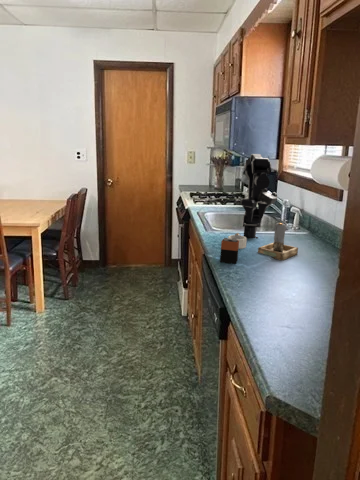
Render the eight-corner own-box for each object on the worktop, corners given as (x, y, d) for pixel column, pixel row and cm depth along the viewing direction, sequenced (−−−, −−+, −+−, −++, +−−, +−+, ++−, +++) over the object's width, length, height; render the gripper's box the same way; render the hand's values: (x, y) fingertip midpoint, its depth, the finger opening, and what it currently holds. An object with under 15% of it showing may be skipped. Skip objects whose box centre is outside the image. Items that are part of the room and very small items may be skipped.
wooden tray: (273, 248, 190) (274, 242, 189) (297, 254, 182) (298, 247, 182) (257, 254, 180) (258, 247, 179) (281, 260, 172) (282, 253, 171)
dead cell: (236, 244, 190) (237, 232, 189) (241, 246, 188) (242, 233, 187) (232, 245, 188) (233, 233, 187) (237, 247, 186) (238, 234, 185)
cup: (234, 244, 194) (235, 234, 193) (248, 248, 189) (249, 237, 188) (224, 247, 188) (225, 237, 187) (238, 251, 183) (239, 240, 182)
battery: (236, 264, 165) (238, 240, 162) (219, 262, 166) (221, 239, 164) (237, 261, 169) (239, 238, 166) (221, 259, 170) (222, 236, 168)
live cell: (274, 250, 184) (276, 221, 181) (283, 251, 182) (286, 223, 179) (271, 252, 180) (274, 223, 177) (281, 253, 178) (284, 224, 175)
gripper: (263, 189, 172) (260, 225, 176) (285, 186, 186) (281, 220, 190) (241, 186, 179) (238, 221, 184) (263, 183, 193) (260, 216, 197)
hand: (255, 219), depth 188 cm, fingers open, 9 cm apart
